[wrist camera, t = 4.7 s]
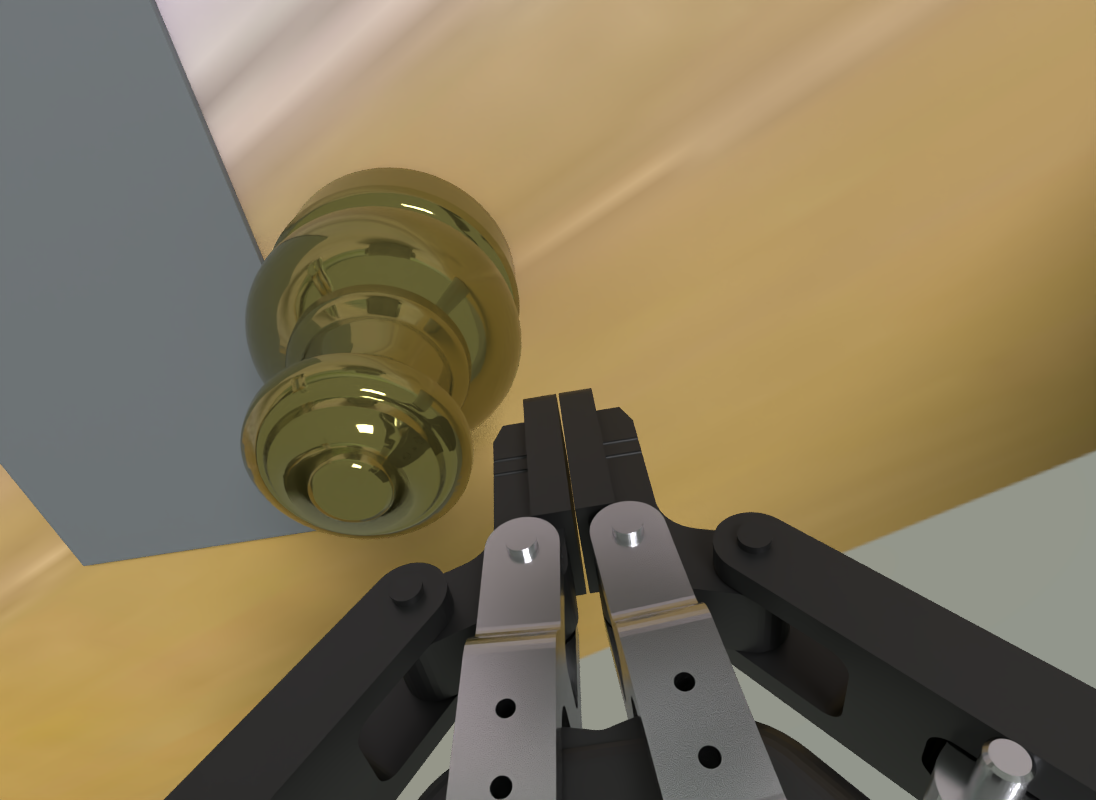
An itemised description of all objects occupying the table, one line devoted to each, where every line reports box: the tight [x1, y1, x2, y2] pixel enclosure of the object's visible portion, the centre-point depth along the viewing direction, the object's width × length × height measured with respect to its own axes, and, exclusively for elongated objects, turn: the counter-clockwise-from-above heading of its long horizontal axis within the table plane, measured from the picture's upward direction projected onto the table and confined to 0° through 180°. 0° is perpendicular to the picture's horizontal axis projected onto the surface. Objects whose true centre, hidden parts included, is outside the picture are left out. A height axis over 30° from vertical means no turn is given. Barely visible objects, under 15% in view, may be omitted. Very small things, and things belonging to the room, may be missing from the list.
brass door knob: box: [240, 168, 521, 539], centre depth 18 cm, size 7×8×10 cm
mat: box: [0, 0, 316, 566], centre depth 22 cm, size 12×20×1 cm, turn 8°
